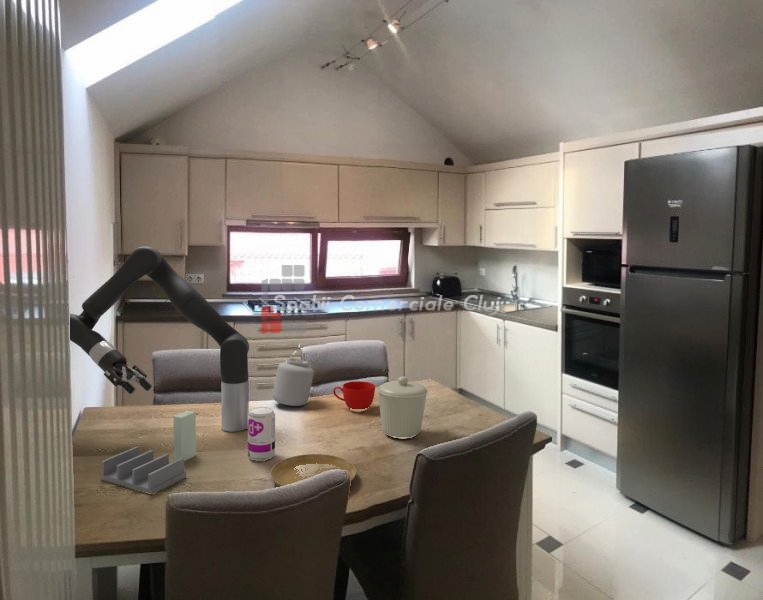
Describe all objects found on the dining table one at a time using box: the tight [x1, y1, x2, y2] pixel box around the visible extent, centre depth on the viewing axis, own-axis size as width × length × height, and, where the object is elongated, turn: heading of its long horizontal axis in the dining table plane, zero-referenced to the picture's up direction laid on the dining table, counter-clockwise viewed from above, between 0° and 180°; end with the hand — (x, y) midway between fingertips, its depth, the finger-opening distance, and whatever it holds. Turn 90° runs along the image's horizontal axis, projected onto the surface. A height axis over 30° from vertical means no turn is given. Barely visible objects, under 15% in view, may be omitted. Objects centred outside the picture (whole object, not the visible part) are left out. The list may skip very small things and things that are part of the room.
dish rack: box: [100, 445, 186, 495], centre depth 150 cm, size 19×12×6 cm, turn 66°
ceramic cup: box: [332, 380, 376, 409], centre depth 215 cm, size 13×17×10 cm
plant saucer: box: [270, 453, 357, 488], centre depth 153 cm, size 24×24×3 cm
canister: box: [376, 375, 429, 437], centre depth 189 cm, size 18×18×21 cm
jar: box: [271, 343, 316, 407], centre depth 219 cm, size 19×15×25 cm
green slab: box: [172, 410, 197, 462], centre depth 164 cm, size 3×6×14 cm, turn 156°
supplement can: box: [247, 406, 276, 462], centre depth 167 cm, size 8×8×15 cm
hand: (141, 390), depth 172 cm, fingers open, 8 cm apart
